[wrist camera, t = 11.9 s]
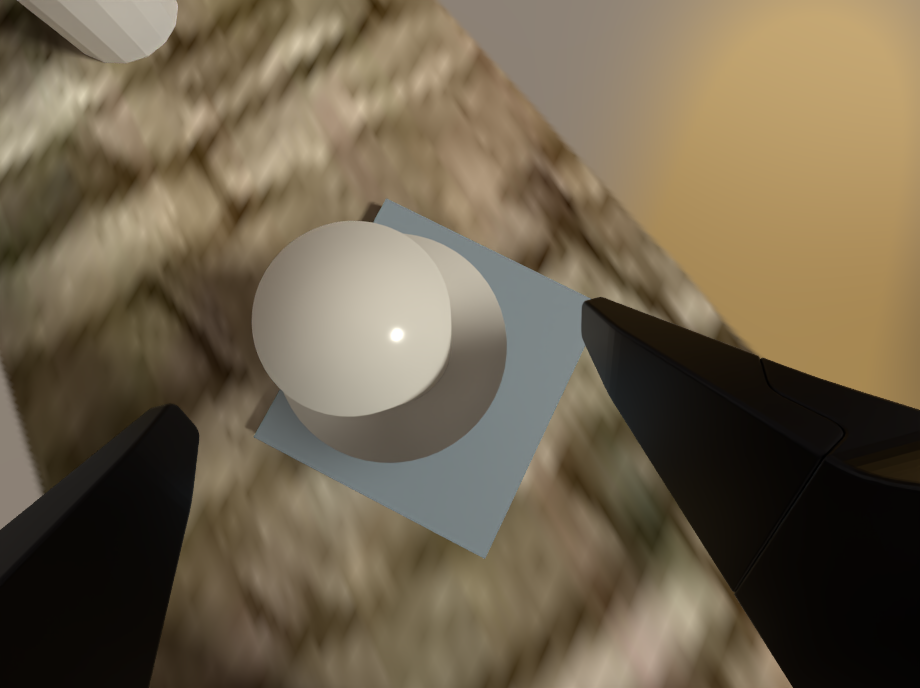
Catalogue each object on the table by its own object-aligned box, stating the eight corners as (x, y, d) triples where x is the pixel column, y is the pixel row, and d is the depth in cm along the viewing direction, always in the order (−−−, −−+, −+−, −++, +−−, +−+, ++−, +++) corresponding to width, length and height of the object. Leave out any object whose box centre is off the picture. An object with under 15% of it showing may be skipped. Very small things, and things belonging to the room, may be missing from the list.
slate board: (483, 549, 18) (485, 558, 17) (264, 434, 18) (253, 436, 17) (596, 309, 19) (604, 305, 18) (389, 208, 20) (386, 198, 19)
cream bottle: (447, 445, 17) (432, 586, 5) (344, 391, 18) (82, 400, 5) (499, 341, 18) (604, 238, 6) (398, 290, 18) (280, 78, 6)
